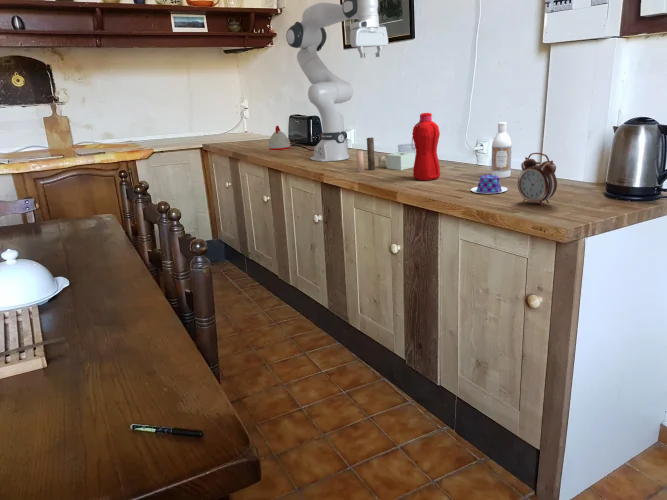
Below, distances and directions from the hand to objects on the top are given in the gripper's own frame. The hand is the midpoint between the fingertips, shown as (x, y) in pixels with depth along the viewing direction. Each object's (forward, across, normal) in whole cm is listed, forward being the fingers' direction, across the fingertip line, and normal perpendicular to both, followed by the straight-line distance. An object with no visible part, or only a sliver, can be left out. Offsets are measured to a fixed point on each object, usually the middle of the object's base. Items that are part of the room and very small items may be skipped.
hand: (370, 57), depth 233 cm
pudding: (+48, +23, +80) cm, 97 cm away
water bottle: (+48, +18, +47) cm, 70 cm away
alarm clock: (+48, +31, +102) cm, 117 cm away
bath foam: (+48, 0, +69) cm, 84 cm away
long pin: (+48, +13, +11) cm, 51 cm away
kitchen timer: (+48, -12, -103) cm, 114 cm away
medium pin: (+48, +20, +11) cm, 53 cm away
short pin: (+48, +6, +11) cm, 50 cm away
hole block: (+48, +3, +20) cm, 52 cm away
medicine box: (+48, -8, +13) cm, 51 cm away
